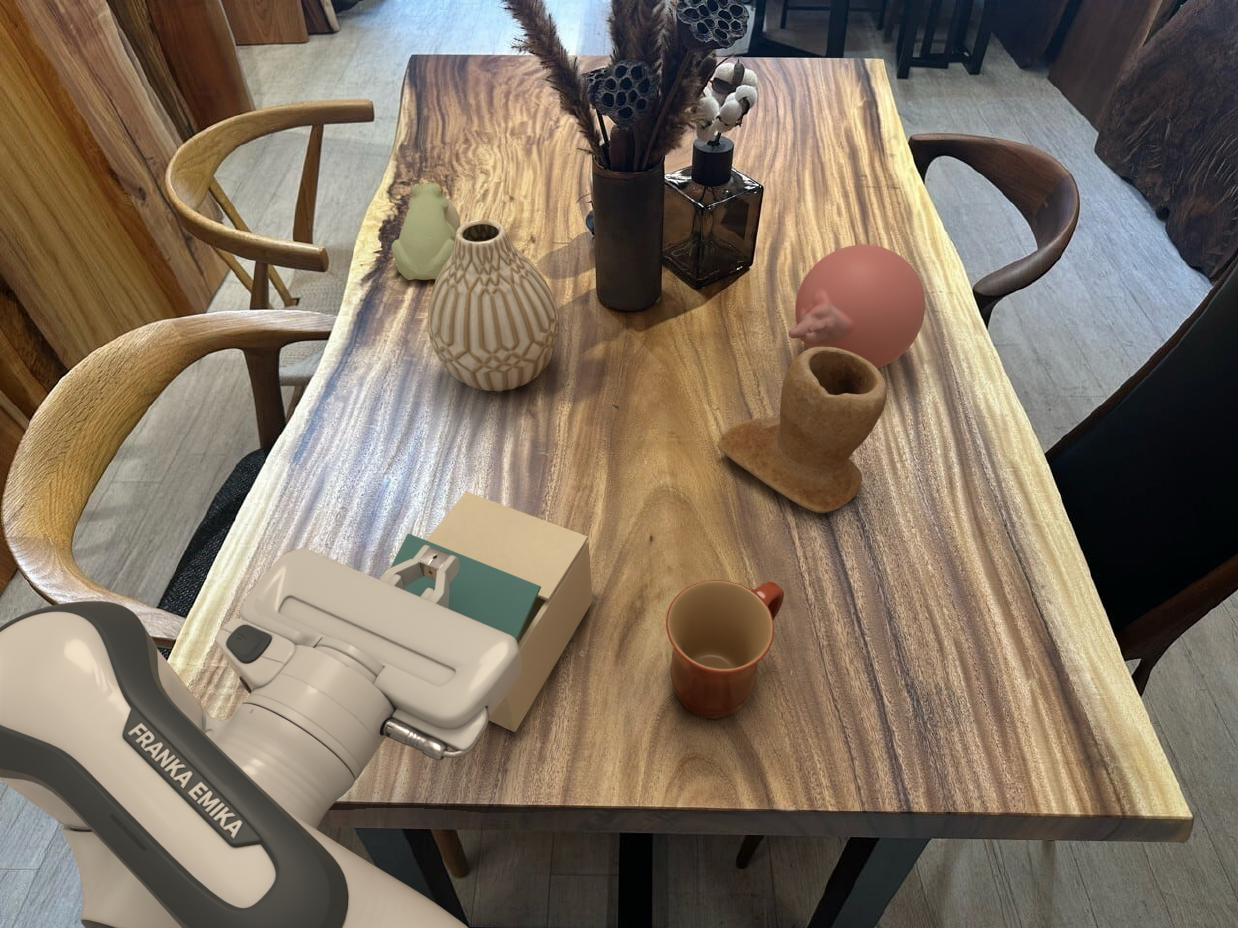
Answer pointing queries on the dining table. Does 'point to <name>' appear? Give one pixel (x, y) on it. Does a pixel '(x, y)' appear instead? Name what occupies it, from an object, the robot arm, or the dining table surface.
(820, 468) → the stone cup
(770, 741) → the dining table surface
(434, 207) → the figurine
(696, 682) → the mug
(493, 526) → the carton
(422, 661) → the robot arm
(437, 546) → the flap
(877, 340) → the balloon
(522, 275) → the vase
